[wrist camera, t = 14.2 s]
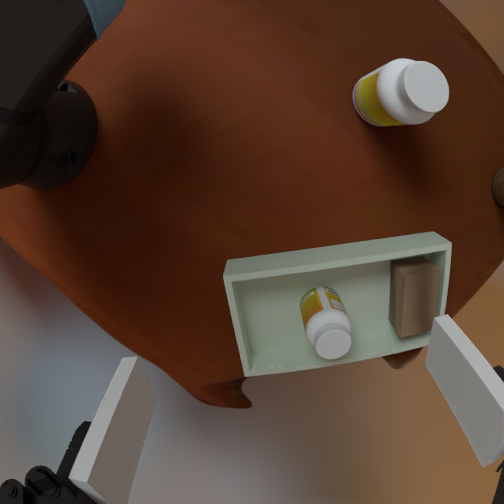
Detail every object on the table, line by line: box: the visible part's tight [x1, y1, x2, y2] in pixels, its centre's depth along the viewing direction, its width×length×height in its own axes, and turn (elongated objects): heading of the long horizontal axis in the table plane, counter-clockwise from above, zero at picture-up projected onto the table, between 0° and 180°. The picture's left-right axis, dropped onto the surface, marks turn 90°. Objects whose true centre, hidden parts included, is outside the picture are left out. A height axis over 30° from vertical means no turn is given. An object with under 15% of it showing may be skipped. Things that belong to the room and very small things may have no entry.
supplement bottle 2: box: [353, 59, 449, 126], centre depth 27 cm, size 7×7×13 cm
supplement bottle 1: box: [300, 285, 352, 359], centre depth 37 cm, size 5×5×10 cm
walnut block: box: [388, 256, 440, 338], centre depth 38 cm, size 5×9×5 cm, turn 9°
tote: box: [223, 231, 452, 377], centre depth 39 cm, size 28×15×5 cm, turn 99°
